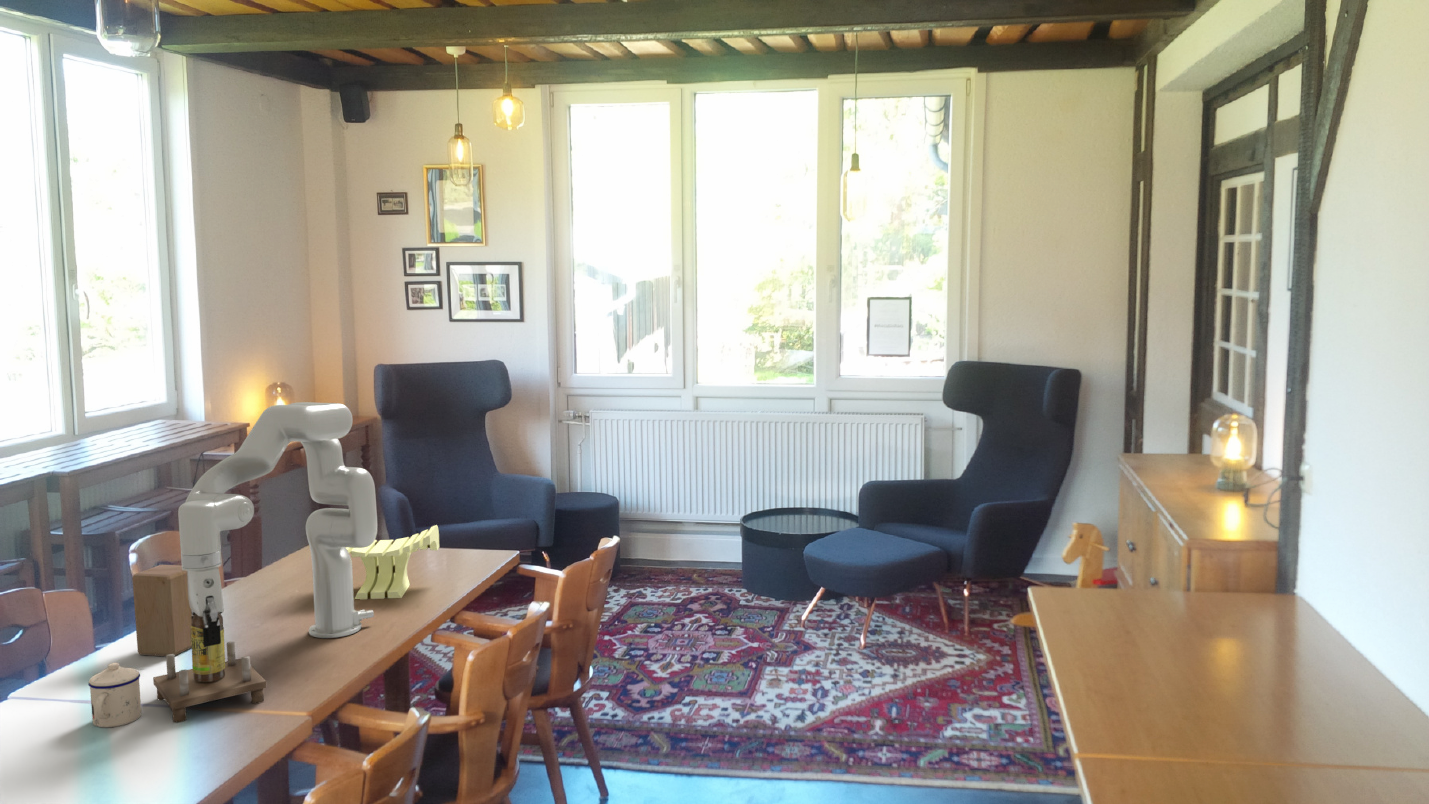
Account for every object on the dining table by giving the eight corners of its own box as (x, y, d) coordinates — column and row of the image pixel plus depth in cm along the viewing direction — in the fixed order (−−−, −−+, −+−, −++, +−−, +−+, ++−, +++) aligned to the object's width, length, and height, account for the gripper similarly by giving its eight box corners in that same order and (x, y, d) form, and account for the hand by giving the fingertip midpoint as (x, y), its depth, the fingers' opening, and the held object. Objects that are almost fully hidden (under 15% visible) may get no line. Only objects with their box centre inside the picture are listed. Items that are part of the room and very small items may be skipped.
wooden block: (172, 658, 246) (167, 576, 243) (136, 655, 248) (130, 574, 245) (201, 644, 255) (196, 565, 253) (166, 641, 257) (160, 563, 255)
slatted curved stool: (440, 580, 309) (438, 522, 307) (432, 596, 294) (429, 534, 292) (336, 584, 306) (333, 525, 304) (322, 600, 290) (319, 538, 288)
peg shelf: (243, 677, 233) (241, 636, 232) (267, 701, 219) (264, 658, 218) (154, 697, 222) (151, 654, 221) (173, 724, 208) (170, 678, 207)
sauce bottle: (187, 680, 219) (181, 588, 217) (214, 670, 225) (209, 581, 222) (205, 686, 216) (199, 593, 213) (232, 676, 221) (227, 586, 219)
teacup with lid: (104, 711, 215) (100, 657, 214) (150, 709, 216) (146, 655, 214) (75, 736, 203) (70, 678, 202) (124, 733, 204) (119, 676, 203)
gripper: (231, 565, 213) (236, 645, 215) (210, 549, 226) (215, 625, 228) (191, 571, 208) (197, 653, 210) (172, 554, 222) (177, 632, 223)
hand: (206, 638), depth 219 cm, fingers open, 9 cm apart
